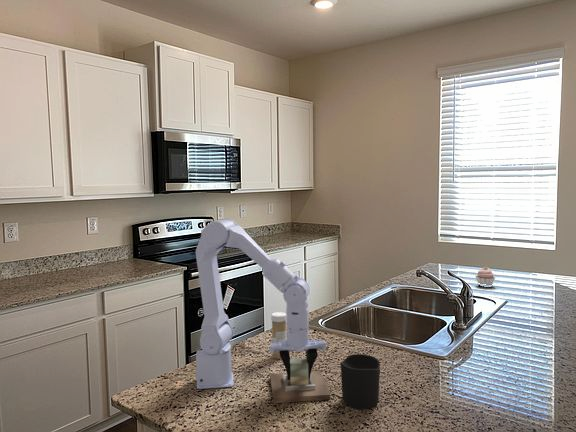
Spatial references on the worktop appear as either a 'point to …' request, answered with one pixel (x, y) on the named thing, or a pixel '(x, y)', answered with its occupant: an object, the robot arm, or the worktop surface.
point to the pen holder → (360, 381)
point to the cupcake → (485, 276)
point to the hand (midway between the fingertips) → (298, 377)
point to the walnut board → (298, 388)
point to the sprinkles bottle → (278, 330)
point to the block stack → (298, 372)
